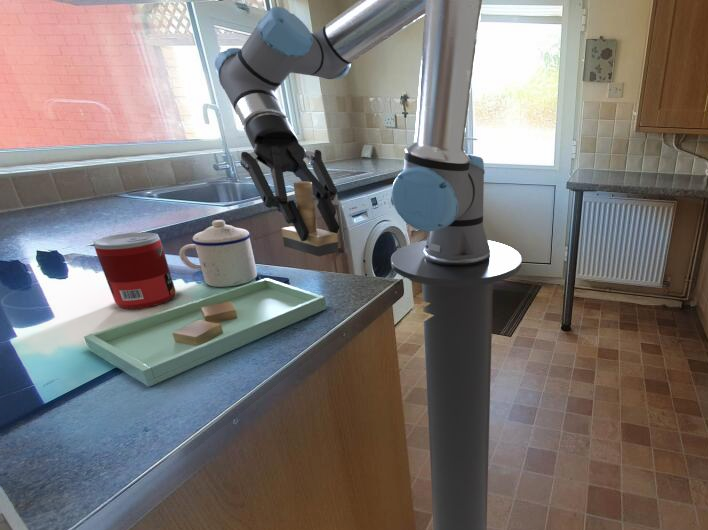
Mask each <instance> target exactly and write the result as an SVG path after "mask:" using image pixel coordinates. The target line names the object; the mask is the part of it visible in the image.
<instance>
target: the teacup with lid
mask: <svg viewBox="0 0 708 530" xmlns="http://www.w3.org/2000/svg"><path fill="white" fill-rule="evenodd" d="M250 237H251V233H250V232H249V230H247V229H245V228H241V227H235V226H233V225H231V224H226V221H225V220H224V219H217V220H216V219H214V220H213V221H212V222H211V226H209V227H206V228H205V229H204V230H203V231H199V232H197V233H195V234H194V235H193V236H192V239H191V241H192V243H190V244H185V245H184V246H182V247H181V248H180V249H179V251H178V252H179V253H178V255H179V259H180V260H181V262H182V264H184V265H185V266H186V267H187V268H189V269H191V270H196V271H201V273H202V275H203V276H202V277H203V278H204V279H203V280H204V282H205V284H206V285H208V286H210V287H214V288H215V287H216V288H225V287H228V288H229V287H235V286H241V285H245V284H248V283H250V282H253V280H255V279H256V278H257V277H258V270H257V265H256V260H255V256H254V252H253V247H252V242H251V238H250ZM189 249H194V250H196V254H197V258H198V261H199V264H195V263H193V262H192V261H190V259H188V257H187V254H186V251H187V250H189Z"/></svg>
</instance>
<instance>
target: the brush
mask: <svg viewBox="0 0 708 530" xmlns="http://www.w3.org/2000/svg"><path fill="white" fill-rule="evenodd" d="M292 184H293V191H294V197H295V204H296V206H297V208H298V211H299V213H300V215H301V217H302V219H303V221H304V223H305V225H306V227H307V229H308V231H309V234H308V237H307V240H306V241H301V239H300V237H299V235H298V233H297V231H296V229H295V227H294V225H292V226H285V227H281V234H282V240H283V246H284V247H285V248H289V249H292V250H295V251H299V252H303V253H305V254H309V255H312V256H316V257H323V256H327V255H331V254H335V253H339V241H338V232H337V233H333V232H330V231H329V230H325V229H321V228H318V224H317V223H318V222H317V215H316V207H315V196H314V195H313V189H312V182H309V181H301V180H298V181H293V183H292Z"/></svg>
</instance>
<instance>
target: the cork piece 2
mask: <svg viewBox="0 0 708 530" xmlns="http://www.w3.org/2000/svg"><path fill="white" fill-rule="evenodd" d="M201 312H202V315H203V318H204V320H205V321H206V322H212V323H219V322H223V321H227V320H231V319H235V318H238V317H237V313H236V310H235V308H234V306H233V305H232V303H231V302H230V301H229V302H224V303H219V304H215V305H210V306H206V307H201Z"/></svg>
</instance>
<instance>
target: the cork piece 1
mask: <svg viewBox="0 0 708 530" xmlns="http://www.w3.org/2000/svg"><path fill="white" fill-rule="evenodd" d="M222 333H223V330H222V326H221V324H218V323H212V322H206V321H200V320H198V321H196V322H194V323H192V324H189V325H187V326H185V327H183V328H181V329H179V330H177V331H175V332H173V333H172V334H173V337H174V340H175V342H178V343H184V344H189V345H195V346H199V345H201V344H204V343H205V342H207V341H209V340H211V339H213V338H215V337H216V336H218V335H220V334H222Z"/></svg>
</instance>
